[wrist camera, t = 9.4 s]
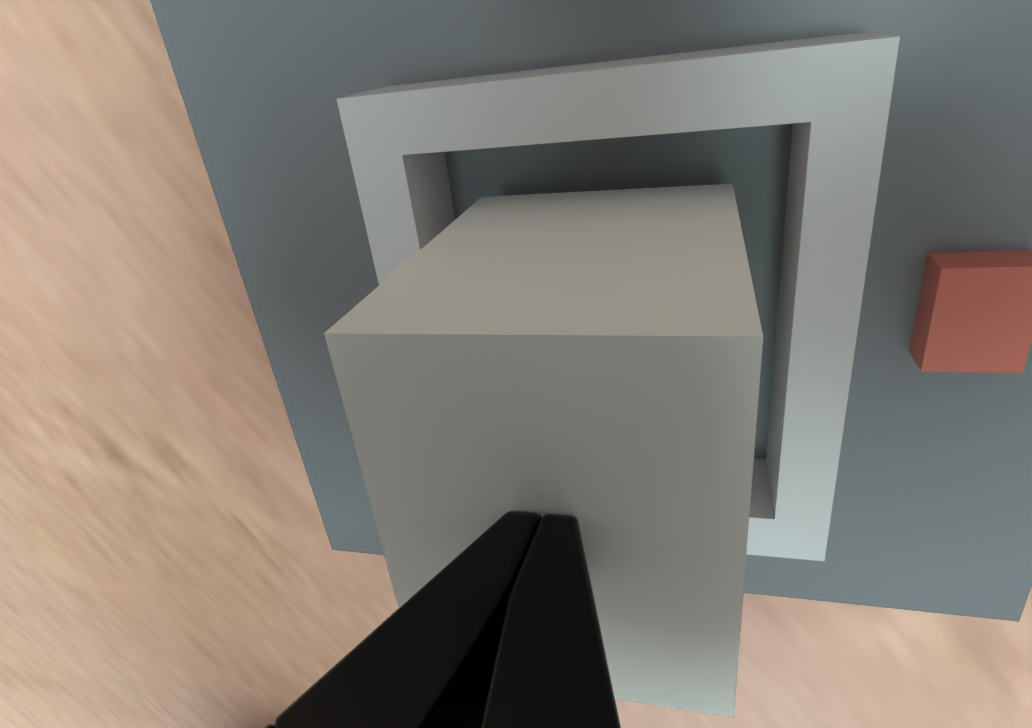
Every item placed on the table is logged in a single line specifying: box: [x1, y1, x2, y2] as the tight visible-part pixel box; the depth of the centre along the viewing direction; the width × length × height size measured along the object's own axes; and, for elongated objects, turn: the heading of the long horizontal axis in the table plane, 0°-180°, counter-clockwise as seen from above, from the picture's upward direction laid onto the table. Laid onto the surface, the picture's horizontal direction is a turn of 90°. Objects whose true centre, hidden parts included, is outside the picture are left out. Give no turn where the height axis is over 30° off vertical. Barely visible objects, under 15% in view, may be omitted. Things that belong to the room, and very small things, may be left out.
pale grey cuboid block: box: [324, 184, 763, 717], centre depth 11 cm, size 4×6×7 cm
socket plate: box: [150, 0, 1032, 621], centre depth 13 cm, size 18×16×4 cm
